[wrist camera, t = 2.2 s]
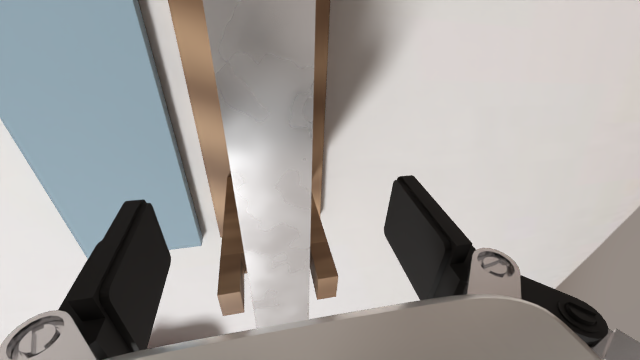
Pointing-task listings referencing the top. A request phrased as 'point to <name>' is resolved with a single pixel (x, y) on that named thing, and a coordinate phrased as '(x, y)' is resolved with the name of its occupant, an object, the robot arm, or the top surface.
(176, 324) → the top surface
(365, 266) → the top surface
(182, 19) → the cradle stand
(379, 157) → the top surface
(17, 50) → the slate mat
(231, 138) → the aluminium rail
